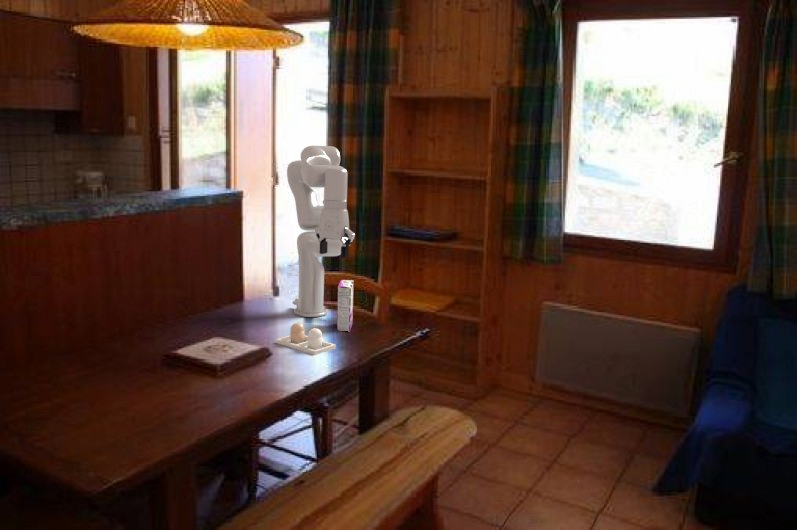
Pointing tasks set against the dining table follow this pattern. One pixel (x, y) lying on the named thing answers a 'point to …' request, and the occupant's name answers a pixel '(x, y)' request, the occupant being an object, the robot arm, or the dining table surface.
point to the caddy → (302, 345)
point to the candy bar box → (345, 305)
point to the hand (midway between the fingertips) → (333, 255)
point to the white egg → (315, 339)
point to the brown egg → (297, 333)
